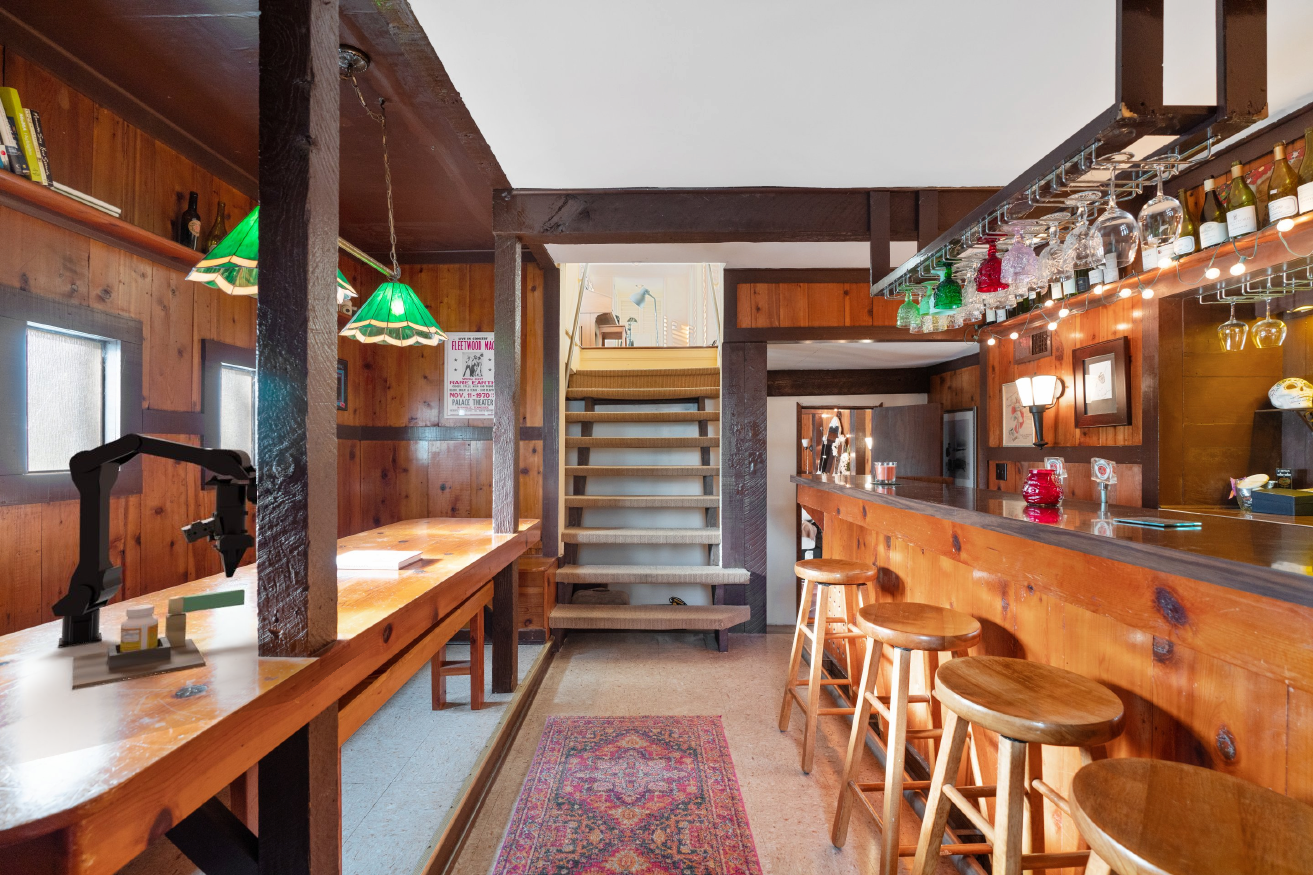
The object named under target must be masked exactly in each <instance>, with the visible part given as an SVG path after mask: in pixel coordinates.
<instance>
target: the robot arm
mask: <svg viewBox="0 0 1313 875" xmlns="http://www.w3.org/2000/svg"><path fill="white" fill-rule="evenodd" d="M140 454H143V455H149V456H153V457H159V458H163V459H169V460H173V461H179V462H183V463H188V464H194V465H196V466H199V467H201V468H202V469H205V470H207V471H208V472H212V473H215V474H213V475H212V476H211V478H210V479H208V480H206V481H205V482H204V483H203V485H204V486H206V487H212V486H213V487H215V499H214V500H215V504H214V505H215V507H214V510H213V512H211V517H210V518H207V519H203V520H199V519H198V520H197V521H195V522H191V523H190V524H189V525H187V526H184V527H181V528H180V529H181V532H182V534H183V536H184V539H185V540H186V542H187V543H188V544H193V543H195V542H198V540H200V539H204V538H206V542H208V543H213V541H215V544H211V545H210V546H211V547H212V548H213V549H214V550H215V551H217V552H218V553H219V555H220V559H221V563H222V567H223V570H224V575H225V577H226V578H227V579H228V578H229V579H231V578H233V576H234V574H235V573H236V570H237V569H238V566H239V564H240V563H241V561H242V559H243V557H244V555H245V553H246V552H247V551H248V550H247V549H249V548H254V547H255V544H256V543H255V537H254V536H252V535H251V534H250V533H249V529H247V516H249V510H247V501H248V502H249V503H251V504H252V505H253V506H255V507H258V506H257V484H256V470H257V469H256V468H255V467H254V465H253V464H252V459H251V457H250V455H249V454H248V452H246V451H244V450H242V449H228V448H212V447H211V448H209V447H202V446H196V445H193V444H192V445H191V444H188V443H183V442H177V441H173V440H169V439H164V438H159V437H154V436H149V435H147V434H145V433H134V432H131V433H130V432H129V433H127V434H125V435H122V436H121V437H119V438H117V439H115V440H113V441H109V442H107V443H104V444H101V445H98V446H96V447H95V448H92V449H87V450H81V451H78V452H76V453H75V454H74V455H73V456H71V457H70V459H69V462H68V467H69V468H68V469H69V472H70V477H71V481H72V483H73V484H74V486H75V488H76V489H77V492H78V494H79V516H78V517H79V524H78V525H79V527H78V528H79V529H78V530H79V532H78V534H79V535H78V536H79V537H78V563H77V565H76V567H75V569H74V571H73V573H72V575H71V577H70V580H69V583H68V588H67V594H65V595H64V596H62V598H61V599H60V600H58V601H57V602H56V603H54V604H52V605H51V611H52V612H53V616H54V617H56V618H57V617H59V618H60V617H62V619H61V620H62V621H61V623H62V624H61V637H59V638H58V646H57V647H59V648H61V647H66V646H67V647H68V646H74V645H75V646H77V645H81V644H88V643H96V642H101V641H102V638H103V637H102V635H103V634H102V632H100V619H101V616H100V614H101V608H103V607H104V608H105V607H106V606H107V605H108V603H109V602H110V600H111V598H113V597H114V596H115V595H116V594H117V593H118V592H119V589H120V586H122V585H123V584H124V583H123V580H122V571H123V566H121V565H118V566H114V565H113V563H112V561H111V559H110V527H111V526H110V522H111V520H110V518H111V515H110V512H111V510H110V508H111V506H110V505H111V502H110V501H111V496H110V495H111V491H112V489H113V487H114V485H115V484H116V482H117V480H118V476H119V472H120V468H121V467H122V466H123V465H126V464H127V463H129V462H132V460H134V459H135V458H136V457H138V456H139V455H140ZM220 475H221V476H224V477H221V476H220ZM225 476H227V478H225ZM229 476H230V477H229ZM228 477H229V478H228ZM239 481H248V482H239Z"/></svg>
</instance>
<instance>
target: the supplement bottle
mask: <svg viewBox="0 0 1313 875" xmlns="http://www.w3.org/2000/svg"><path fill="white" fill-rule="evenodd" d="M154 612H155V605H153V604H143V605H133V606H130V607H129V606H128V607H126V612H125V613H126V614H125V616H126V617H127V618H126V619H124V620H123V621H122V622H121V625H120V642H119V644H120V653H124V652H131V651H137V650H144V649H150V648H156V647H157V642H158V638H159V619H158V617H156V616H154Z"/></svg>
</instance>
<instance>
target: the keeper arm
mask: <svg viewBox="0 0 1313 875" xmlns="http://www.w3.org/2000/svg"><path fill="white" fill-rule="evenodd" d="M245 594H246V593H245V589H244V588H243V589H235V590H228V591H227V590H226V591H217V592H216V591H215V592H210V593H200V594H192V595H183V596H182V595H181V596H172V597H169V598H168V600H167V601H168V603H167V604H168V605H167V608H168V609H167V614H180V613H184V612H185V613H191V612H198V611H206V610H214V609H219V608H220V609H221V608H229V607H236V606H238V607H239V606H244V605H245Z"/></svg>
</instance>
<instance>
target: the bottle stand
mask: <svg viewBox="0 0 1313 875" xmlns="http://www.w3.org/2000/svg"><path fill="white" fill-rule="evenodd" d="M186 630H187V614H186V612H184V613H180V614H168V613H167V614H165V630H164V634H165V635H164V636H162V637H158V642H157V647H156V648H150V649H144V650H137V651H131V652H124V653H120V643H113V644H108V645H107V650H106V651H101V652H96V653H89V654H84V655H76V656H73V658H72V661H73V663H72V690H76V689H81V688H87V687H91V686H98V685H102V684H103V683H105V684H109V682H110V683H114V682H113V681H116V682H120V681H119V680H121V681H124V680H123V679H127V680H129V679H128V678H132V679H136V678H135V677H138V678H141V677H140V676H144V677H147V676H146V675H149V676H151V675H150V674H155V673H160V674H163V673H162V672H166V673H169V672H168V671H171V672H175V671H174V670H177V671H182V670H186V669H187V670H188V669H193V668H199V667H204V666H206V660H205V658H204V657H203V655H202V653H201V652H200V650H199V649H198V646H197V645H196V643H195V642H194V640H193V638H186V632H187V631H186ZM181 669H182V670H181ZM155 675H156V674H155ZM103 685H104V684H103Z"/></svg>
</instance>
